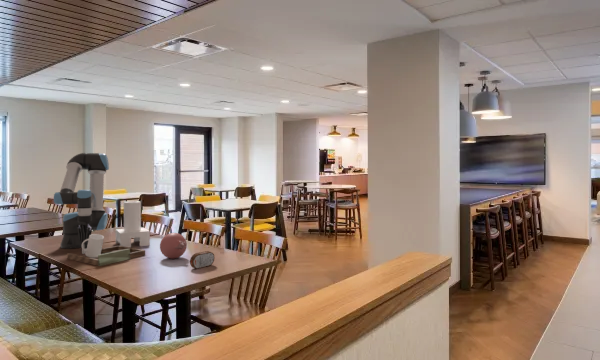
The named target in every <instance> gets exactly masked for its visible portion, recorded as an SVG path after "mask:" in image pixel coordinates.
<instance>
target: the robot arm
mask: <svg viewBox="0 0 600 360" xmlns="http://www.w3.org/2000/svg"><path fill="white" fill-rule="evenodd" d="M109 165H110V163H109V159H108V156H107V154H105V153H100V152H97V153H96V152H94V153H93V152H89V153H88V152H81V153H78V154H76V155H74V156H73V157H71V158H70V159H69V160H68V162H67V164H66V172H65V174H64V175H65V176H64V178H63V181H62V184H61V188H60V190H59V191H58V192H54V194H53V202H54V204H55V205H76V206H77V211H75V212H74V211H73V212H68V213H65V214H64V215H63V217H62V218H63V219H62V224H63V225H62V229H63V230H62V233H63V236H62V239H61V242H60V248H61V249H68V250H69V249H79V248H81V254H82V255H85V253H86V251H84V250H83V249H82V243H83V242H84V241H85V240H86V239H89V235H91V234H93V233H92V231H103V230H105V229H106V227H107V225H108V220H109V219H108V217H109V215H108V213H107V212H106V209H104V186H105V185H104V178H105V175H106V173H107V171H108V170H109V169H110V166H109ZM83 170H85V171H87V174H89V189H78V190H77V191H75V190H76V186H77V183H78V181H79V180H78V179H79V177H80V173H81V172H83ZM87 245H88V241H85V242H84V243H83V248H84V249H87Z"/></svg>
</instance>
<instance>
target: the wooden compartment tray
mask: <svg viewBox="0 0 600 360" xmlns="http://www.w3.org/2000/svg"><path fill="white" fill-rule="evenodd" d="M66 254H67V256H66V258H67V260H71V261H76V262H81V263H85V264H90V265H94V266H99V267H102V266H107V265H110V264H115V263H118V262H119V263H120V262H123V261H127V260H130V259H134V258H139V257H143V256H146V250H145V249H139V248H134V247H124V246H120V245H115V246H110V247H104V248H103V247H102V250H101V254H100V255H98V257H97V258H92V257H88V256H86V255H80V254H76V253H70V252H69V253H66Z"/></svg>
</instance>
